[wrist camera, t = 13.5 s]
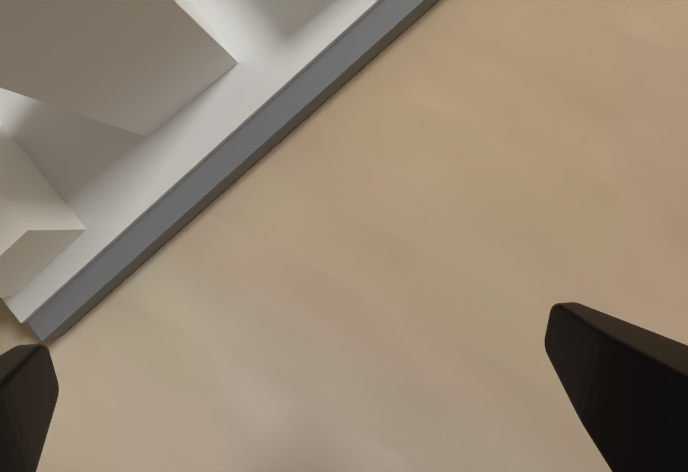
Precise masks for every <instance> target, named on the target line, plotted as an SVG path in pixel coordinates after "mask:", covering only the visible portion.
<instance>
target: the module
mask: <svg viewBox="0 0 688 472" xmlns="http://www.w3.org/2000/svg"><path fill="white" fill-rule="evenodd" d="M236 64H238V62H237V60H236V59H235V58H234V56H233V55H232V53H231V52H230V51H229V49H228V48H227V47H226V45H225V44H224V43H223V41H222V40H221V39H220V37H219V36H218V35H217V33H216V32H215V30H214V29H213V28H212V26H211V25H210V24H209V22H208V21H207V20H206V18H205V17H204V16H203V14H202V13H201V12H200V10H199V9H198V7H197V6H196V5H195V3H194V2H193V1H192V0H0V88H3V89H6V90H9V91H12V92H15V93H18V94H21V95H24V96H27V97H29V98H32V99H35V100H38V101H41V102H44V103H47V104H50V105H53V106H56V107H59V108H62V109H65V110H68V111H71V112H74V113H77V114H80V115H83V116H86V117H89V118H92V119H95V120H98V121H101V122H104V123H107V124H110V125H113V126H115V127H118V128H121V129H124V130H127V131H130V132H133V133H136V134H139V135H142V136H145V137H148V136H150V135H151V134H152V133H153V132H154V131H156V130H157V129H158V128H159V127H161V126H162V125H163V124H164V123H165V122H167V121H168V120H169V119H170V118H172V117H173V116H174V115H175V114H176V113H178V112H179V111H180V110H181V109H183V108H184V107H185V106H186V105H187V104H189V103H190V102H191V101H192V100H194V99H195V98H196V97H197V96H198V95H200V94H201V93H202V92H203V91H205V90H206V89H207V88H208V87H209V86H211V85H212V84H213V83H214V82H216V81H217V80H218V79H219V78H220V77H222V76H223V75H224V74H225V73H227V72H228V71H229V70H230V69H231V68H233V67H234V66H235V65H236Z"/></svg>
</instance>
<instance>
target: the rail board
mask: <svg viewBox="0 0 688 472" xmlns="http://www.w3.org/2000/svg"><path fill="white" fill-rule="evenodd" d="M192 1H193V2H194V3H195V5H196V6H197V7H198V9H199V10H200V12H201V13H202V14H203V16H204V17H205V18H206V20H207V21H208V22H209V24H210V25H211V26H212V28H213V29H214V30H215V32H216V33H217V35H218V36H219V37H220V39H221V40H222V41H223V43H224V44H225V45H226V47H227V48H228V49H229V51H230V52H231V53H232V55H233V56H234V58H235V59H236V60H237V62H238V64H236V65H235V66H234V67H233V68H231V69H230V70H229V71H228V72H227V73H225V74H224V75H223V76H222V77H220V78H219V79H218V80H217V81H216V82H214V83H213V84H212V85H211V86H209V87H208V88H207V89H206V90H205V91H203V92H202V93H201V94H200V95H198V96H197V97H196V98H195V99H194V100H192V101H191V102H190V103H189V104H187V105H186V106H185V107H184V108H183V109H181V110H180V111H179V112H178V113H176V114H175V115H174V116H173V117H172V118H170V119H169V120H168V121H167V122H165V123H164V124H163V125H162V126H161V127H159V128H158V129H157V130H156V131H154V132H153V133H152V134H151V135H150V136H148V137H145V136H142V135H139V134H136V133H133V132H130V131H127V130H124V129H121V128H118V127H115V126H113V125H110V124H107V123H104V122H101V121H98V120H95V119H92V118H89V117H86V116H83V115H80V114H77V113H74V112H71V111H68V110H65V109H62V108H59V107H56V106H53V105H50V104H47V103H44V102H41V101H38V100H35V99H32V98H29V97H27V96H24V95H21V94H18V93H15V92H12V91H9V90H6V89H3V88H0V298H2V300H3V301H4V302H5V303H6V305H7V306H8V307H9V309H10V310H11V311H12V313H13V314H14V315H15V316H16V318H17V319H18V320H19V322H20V323H24V322H27V323H28V324H29V326H30V327H31V328H32V329H33V331H34V332H35V333H36V335H37V336H38V337H39V338H40V340H41V341H45V340H48V339H51V338H54V337H57V336H60V335H63V334H64V333H65V332H66V331H67V330H68V329H70V328H71V327H72V326H73V325H74V324H75V323H76V322H77V321H78V320H80V319H81V318H82V317H83V316H84V315H85V314H86V313H87V312H89V311H90V310H91V309H92V308H93V307H94V306H95V305H96V304H98V303H99V302H100V301H101V300H102V299H103V298H104V297H105V296H107V295H108V294H109V293H110V292H111V291H112V290H113V289H114V288H116V287H117V286H118V285H119V284H120V283H121V282H122V281H123V280H125V279H126V278H127V277H128V276H129V275H130V274H131V273H132V272H134V271H135V270H136V269H137V268H138V267H139V266H140V265H141V264H143V263H144V262H145V261H146V260H147V259H148V258H149V257H150V256H152V255H153V254H154V253H155V252H156V251H157V250H158V249H159V248H161V247H162V246H163V245H164V244H165V243H166V242H167V241H168V240H170V239H171V238H172V237H173V236H174V235H175V234H176V233H177V232H179V231H180V230H181V229H182V228H183V227H184V226H185V225H186V224H188V223H189V222H190V221H191V220H192V219H193V218H194V217H195V216H197V215H198V214H199V213H200V212H201V211H202V210H203V209H204V208H206V207H207V206H208V205H209V204H210V203H211V202H212V201H213V200H215V199H216V198H217V197H218V196H219V195H220V194H221V193H222V192H224V191H225V190H226V189H227V188H228V187H229V186H230V185H231V184H233V183H234V182H235V181H236V180H237V179H238V178H239V177H240V176H241V175H243V174H244V173H245V172H246V171H247V170H248V169H249V168H250V167H252V166H253V165H254V164H255V163H256V162H257V161H258V160H259V159H261V158H262V157H263V156H264V155H265V154H266V153H267V152H268V151H270V150H271V149H272V148H273V147H274V146H275V145H276V144H277V143H279V142H280V141H281V140H282V139H283V138H284V137H285V136H286V135H288V134H289V133H290V132H291V131H292V130H293V129H294V128H295V127H297V126H298V125H299V124H300V123H301V122H302V121H303V120H304V119H306V118H307V117H308V116H309V115H310V114H311V113H312V112H313V111H315V110H316V109H317V108H318V107H319V106H320V105H321V104H322V103H324V102H325V101H326V100H327V99H328V98H329V97H330V96H331V95H333V94H334V93H335V92H336V91H337V90H338V89H339V88H340V87H342V86H343V85H344V84H345V83H346V82H347V81H348V80H349V79H351V78H352V77H353V76H354V75H355V74H356V73H357V72H358V71H360V70H361V69H362V68H363V67H364V66H365V65H366V64H367V63H369V62H370V61H371V60H372V59H373V58H374V57H375V56H376V55H378V54H379V53H380V52H381V51H382V50H383V49H384V48H385V47H387V46H388V45H389V44H390V43H391V42H392V41H393V40H394V39H396V38H397V37H398V36H399V35H400V34H401V33H402V32H403V31H404V30H406V29H407V28H408V27H409V26H410V25H411V24H412V23H413V22H415V21H416V20H417V19H418V18H419V17H420V16H421V15H422V14H424V13H425V12H426V11H427V10H428V9H429V8H430V7H431V6H433V5H434V4H435V3H436V2H437V1H438V0H192Z"/></svg>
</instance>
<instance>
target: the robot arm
mask: <svg viewBox="0 0 688 472" xmlns="http://www.w3.org/2000/svg"><path fill="white" fill-rule="evenodd" d="M545 349H546V352H547V355H548V357H549V359H550V361H551V363H552V365H553V367H554V369H555V371H556V373H557V375H558V377H559V379H560V381H561V383H562V385H563V387H564V389H565V391H566V393H567V395H568V397H569V399H570V401H571V403H572V405H573V407H574V409H575V411H576V413H577V415H578V417H579V418H580V420H581V422H582V424H583V425H584V427H585V429H586V430H587V432H588V434H589V435H590V437H591V439H592V440H593V442H594V443H595V445H596V446H597V448H598V450H599V451H600V453H601V454H602V456H603V458H604V459H605V461H606V462H607V464H608V465H609V467H610V469H611V470H612V472H688V346H687V345H685V344H682V343H680V342H677V341H675V340H672V339H669V338H667V337H664V336H662V335H659V334H656V333H654V332H651V331H649V330H646V329H644V328H641V327H638V326H636V325H633V324H631V323H628V322H626V321H623V320H620V319H618V318H615V317H613V316H610V315H607V314H605V313H602V312H600V311H597V310H595V309H592V308H589V307H587V306H584V305H582V304H579V303H576V302H569V303H557V304H555V305H554V306H553V307H552V308H551V311H550V315H549V320H548V325H547V330H546V335H545ZM58 392H59V387H58V381H57V377H56V373H55V370H54V366H53V363H52V359H51V356H50V352H49V350H48V348H47V347H46V346H45V345H43V344H29V345H19V346H16V347H14V348H12V349H10V350H9V351H7V352H5V353H3V354H2V355H0V472H36V470H37V467H38V463H39V460H40V456H41V453H42V450H43V446H44V443H45V439H46V436H47V432H48V429H49V426H50V422H51V419H52V415H53V412H54V409H55V405H56V402H57V398H58Z"/></svg>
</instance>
